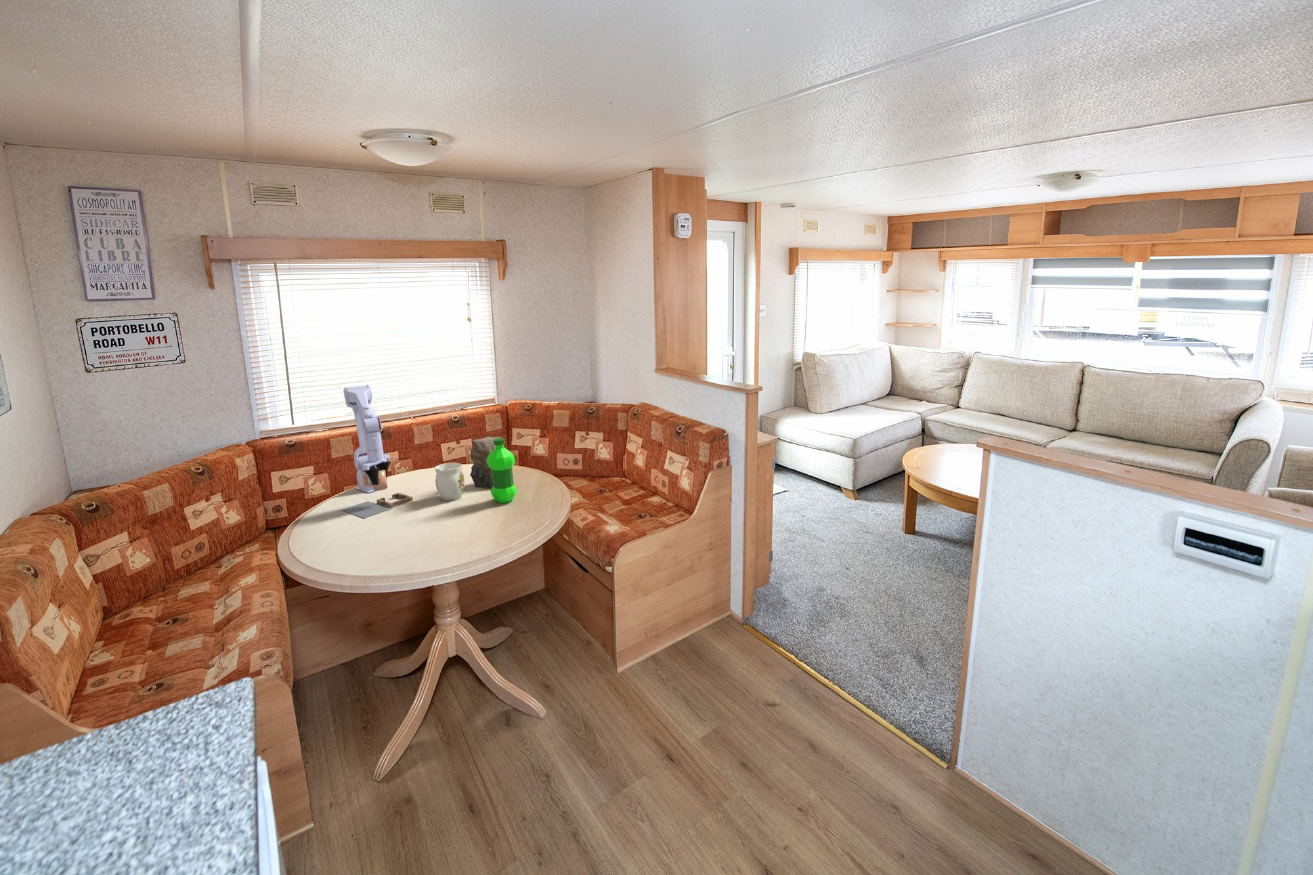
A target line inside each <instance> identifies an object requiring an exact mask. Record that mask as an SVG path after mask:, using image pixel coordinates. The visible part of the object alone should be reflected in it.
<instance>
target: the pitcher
mask: <svg viewBox="0 0 1313 875" xmlns="http://www.w3.org/2000/svg"><path fill="white" fill-rule="evenodd" d="M462 467H463V464H462V463H459V462H445V463H442V464H439V465H435V467H434V470H435V474H436V476H435V479H434V480H435V486H436V490H437V492H438V494H439V496H440V497H441V498H442V499H443V500H444V501H455V500H458V499H460V498H462V497H461V496H462V495H463V493H464V490H465V484H466V483H465V482H466V481H465V475H464V474H463V471H462V470H463V469H462Z"/></svg>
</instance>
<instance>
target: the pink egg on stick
mask: <svg viewBox="0 0 1313 875" xmlns="http://www.w3.org/2000/svg"><path fill="white" fill-rule="evenodd" d="M367 476H368V475H367V474H366V473H363V474H362V480H363V486H373V489H374V490H375V491H374V492H376V491H379V492H380V491H385V490H387V489H388V481H387V480H386V474H385V470H383V469H379V473H378V485H372V483H368V477H367Z"/></svg>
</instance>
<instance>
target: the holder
mask: <svg viewBox="0 0 1313 875" xmlns="http://www.w3.org/2000/svg"><path fill="white" fill-rule="evenodd" d="M396 497H398V498H399V497H400V498H399V499H400V500H397V501H394V502H389V501H386V497H381V498H378V499H376V504H377V503H378V505H381V506H384V507H387V508H390V509H392V508H395V507H398V506H401V505H404V504H407V503H409V502H412V501H414V498H413V496H411V495H408V494H404V493H401V492H396V493H393V494H391V499H393V500H395V499H397V498H396ZM394 498H395V499H394ZM397 505H398V506H397Z"/></svg>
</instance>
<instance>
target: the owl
mask: <svg viewBox="0 0 1313 875" xmlns="http://www.w3.org/2000/svg"><path fill="white" fill-rule="evenodd" d="M497 438H502V436H501V435H500V436H491V435H489V436H485V437H484V438H479V439H472V440H471V444H472V446H471V448H470V453H469V454H470V455H469V456H470V460H471V462H473V464H472V466H471V468H470V469H471V471H470V474H469V475H470V478H471V479H472V481H473V482H472V483H473V484H474V488H481V489H490V490H491V489H492V487H493V482H492V472H491V468H490V467H489V466H488V464H487V457H488V455H489V454H490V453H491V452H492V451H493V450H494V449H495V445H494V443H493V440H494V439H497Z"/></svg>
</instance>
